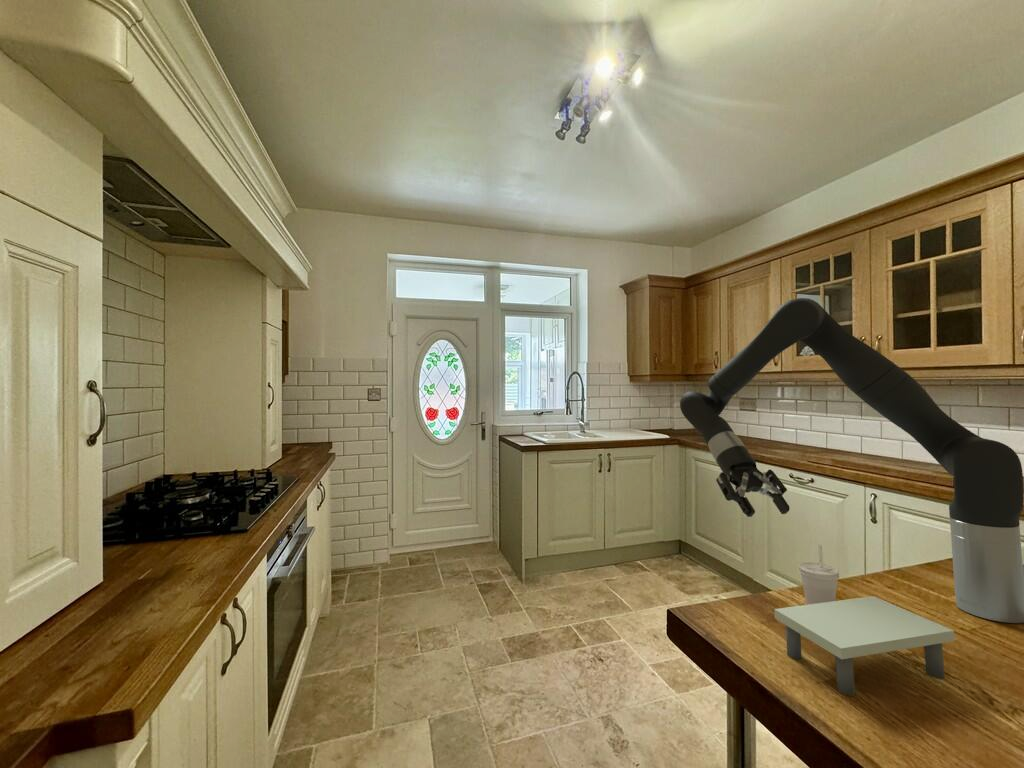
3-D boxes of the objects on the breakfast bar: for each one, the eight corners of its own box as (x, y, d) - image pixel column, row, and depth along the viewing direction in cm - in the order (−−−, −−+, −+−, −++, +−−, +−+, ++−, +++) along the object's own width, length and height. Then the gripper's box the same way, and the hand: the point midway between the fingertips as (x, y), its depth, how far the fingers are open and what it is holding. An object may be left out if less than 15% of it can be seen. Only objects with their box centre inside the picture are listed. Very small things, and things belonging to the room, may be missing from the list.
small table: (875, 636, 76) (873, 596, 77) (957, 679, 64) (954, 630, 65) (776, 652, 72) (774, 609, 73) (844, 700, 61) (841, 648, 61)
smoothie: (849, 630, 79) (845, 551, 79) (810, 627, 80) (805, 549, 80) (831, 613, 85) (827, 540, 85) (794, 611, 86) (790, 539, 87)
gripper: (711, 445, 102) (748, 506, 91) (764, 443, 105) (807, 501, 93) (698, 465, 107) (732, 525, 96) (749, 462, 110) (788, 520, 98)
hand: (769, 513), depth 94 cm, fingers open, 8 cm apart
